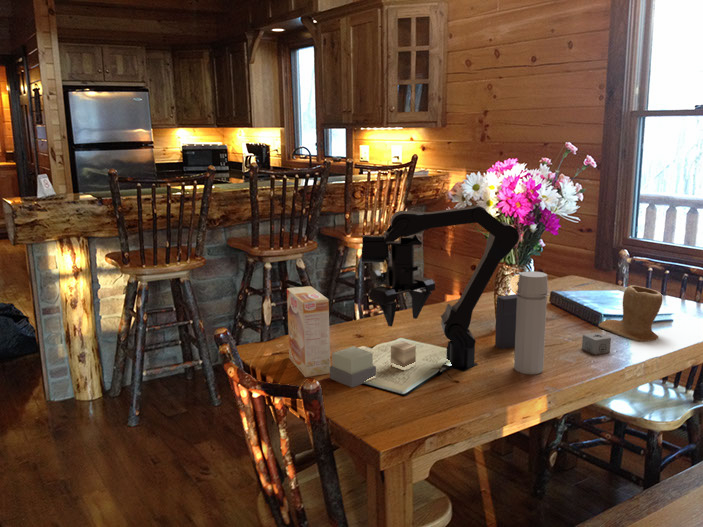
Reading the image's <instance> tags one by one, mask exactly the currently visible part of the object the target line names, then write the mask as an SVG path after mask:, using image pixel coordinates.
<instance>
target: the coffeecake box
mask: <svg viewBox="0 0 703 527" xmlns="http://www.w3.org/2000/svg"><path fill="white" fill-rule="evenodd" d="M286 299H287V300H286V301H287V305H286V306H287V325H288V326H287V327H288V329H287V331H288V352H289V353H288V354H289V355H288V359H289V360H290V361H291V363H293V364H294V365H295V367H296V368H297V370H299V371H300V373H301V374H302V375H303V376H304V377H305V378H307V377H314V376H319V375H326V374H327V375H328V374H329V375H330V366H331V350H330V349H331V348H330V347H331V346H330V344H331V343H330V311H329V309H330V306H329V305H330V304H329V302H330V300H329V298H327V297H326V296H324V294H322V293H320V291H318V290H316V289H315V288H314V287H312V286H311V285H310V286H295V287H288V288H286Z"/></svg>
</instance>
